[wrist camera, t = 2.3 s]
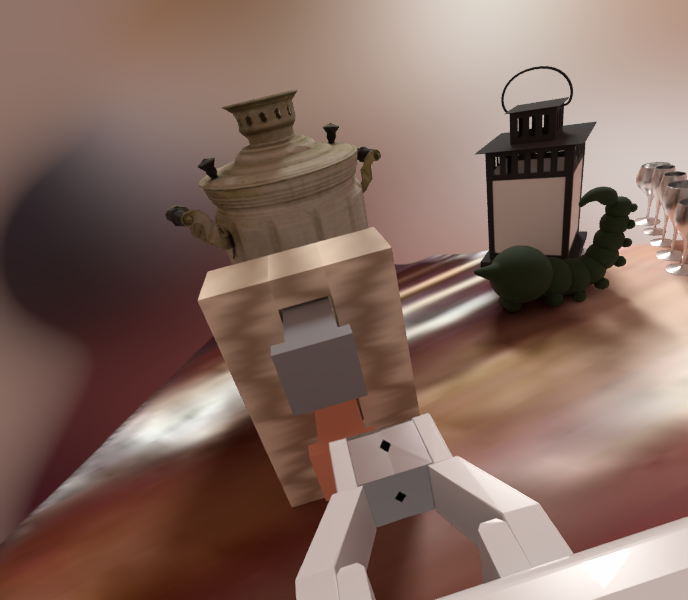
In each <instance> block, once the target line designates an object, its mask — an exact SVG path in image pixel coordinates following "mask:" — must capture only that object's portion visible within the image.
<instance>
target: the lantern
mask: <svg viewBox="0 0 688 600" xmlns="http://www.w3.org/2000/svg"><path fill="white" fill-rule="evenodd" d="M541 68H543V69H552V70H555V71H557V72H559V73H561V74H562V75H563V76H564V77H565V78H566V79H567V81H568V83H569V85H570V90H571V95H570V99H569V101H568V102H567V103H566V104H564V102H565V101H566V100H567V99H568V98H569V97H567V98H561V99H555V100H550V101H542V102H536V103H530V104H524V105H518V106H516V107H514V108H513V109H511V110H510V111H507V110H506V109H505V106H504V102H503V99H504V93H505V90H506V88H507V86H508V85H509V83H510V82H511V81H512V80H513V79H514V78H515V77H517V76H518V75H520V74H522V73H524V72H526V71H530V70H534V69H541ZM572 96H573V88H572V84H571V81H570V79H569V78H568V77H567V75H566V74H565V73H563V72H562V71H561V70H558V69H556V68H553V67H548V66H545V67H544V66H540V67H533V68H530V69H526V70H524V71H522V72H520V73H518V74H517V75H515V76H514V77H513V78H512V79H511V80H510V81H509V82H508V83H507V85H506V86H505V88H504V90H503V93H502V107H503V109H504V111H505V112H506V114H510V133H502V134H500V135H499V136H497V137H496V138H495V139H494V140H492V141H491V142H490V143H488V144H487V145H486V146H485V147H483V148H482V149H481V150H480V151H478V152H477V153H476V154H486V155H485V156H486V178H487V179H486V181H487V205H488V228H489V229H488V230H489V251H488V252H487V254H486V255H485V257H484V258H483V259H482V261H481V267H486V266H489V265H491V264H492V262H493V260H494V259H495V257H496V256H497V255H498V254H500V253H501V252H502V251H504V250H505V249H507V248H509V247H513V246H518V245H523V246H530V247H533V248H536V249H538V250H540V251H541V252H542V253H543V254H545V255H546V256H547V257H556V258H559V259H561V260H564V259H569V258H572V259H576V258H578V257H580V255H581V252H582V249H583V246H584V243H585V240H586V237H587V232H579V219H580V207H579V202H580V200H581V193H582V192H581V191H582V179H583V166H584V154H585V141H586V140H587V138H588V136H589V134H590V133H591V131H592V129H593V127H594V126H595V124H596V122H590V123H582V124H574V125H566V126H563V113H564V106H565V105H568V104H569V103H570V102H571V99H572ZM542 115H544V127H542ZM531 116H532V129H529V117H531ZM518 118H519V131H518V120H517V119H518ZM558 151H559V152H558ZM547 152H548V153H547ZM535 153H537V154H535ZM495 157H497V166H496V163H495ZM498 157H499V158H500V164H499V162H498Z"/></svg>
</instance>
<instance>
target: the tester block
mask: <svg viewBox="0 0 688 600" xmlns="http://www.w3.org/2000/svg"><path fill="white" fill-rule="evenodd" d="M326 296H330V299H331V303H332V306H333V309H332V311H333V314H334V317H335V321H336V324H337V327H341V326H344V325H348V324H349V325H350V328H351V330H352V333H353V337H354V341H355V345H356V349H357V353H358V357H359V361H360V365H361V369H362V373H363V377H364V382H365V386H366V390H367V394H368V395H367V396H364V397H360V398H357V399H356V401H357V404H358V408H359V411H360V414H361V417H362V421H363V424H364V427H365V428H368V427H371V426H375V429H379V428H382V427H385V426H388V425H391V424H394V423H397V422H401V421H404V420H407V419H410V418H411V419H412V418H414V417H417V416H420V414H419V408H418V402H417V396H416V390H415V384H414V378H413V372H412V366H411V360H410V354H409V348H408V342H407V336H406V330H405V325H404V319H403V313H402V307H401V301H400V295H399V289H398V283H397V277H396V271H395V265H394V259H393V253H392V248H391V246H390V245H389V244H388V243H387V242H386V241H385V239H384V238H383V237H382V236H381V235H380V234H379V233H378V231H377V230H376V229H375V228H374V227H372V228H368V229H364V230H361V231H357V232H353V233H350V234H346V235H342V236H338V237H335V238H331V239H327V240H324V241H320V242H316V243H313V244H309V245H305V246H301V247H298V248H294V249H290V250H287V251H283V252H279V253H275V254H272V255H268V256H264V257H261V258H257V259H253V260H249V261H246V262H242V263H238V264H235V265H231V266H227V267H223V268H220V269H216V270H212V271H209V272H208V273H207V276H206V278H205V281H204V284H203V287H202V290H201V292H200V295H199V298H198V303H199V305H200V307H201V309H202V311H203V313H204V316H205V318H206V320H207V322H208V324H209V327H210V329H211V331H212V333H213V335H214V338H215V340H216V342H217V344H218V346H219V349H220V351H221V353H222V355H223V357H224V360H225V362H226V364H227V366H228V368H229V371H230V373H231V375H232V377H233V379H234V382H235V384H236V386H237V388H238V390H239V393H240V395H241V397H242V399H243V401H244V404H245V406H246V408H247V410H248V412H249V415H250V417H251V419H252V421H253V423H254V426H255V428H256V430H257V432H258V434H259V437H260V439H261V441H262V443H263V445H264V448H265V450H266V452H267V454H268V456H269V459H270V461H271V463H272V465H273V467H274V470H275V472H276V474H277V476H278V478H279V481H280V483H281V485H282V487H283V489H284V492H285V494H286V496H287V498H288V500H289V503H290V505H291V507H292V508H293V507H296V506H299V505H303V504H306V503H309V502H312V501H316V500H319V499H322V498H325V497H324V494H323V492H322V489H321V486H320V484H319V481H318V478H317V476H316V473H315V471H314V468H313V465H312V463H311V460H310V457H309V450H308V445H311V444H314V443H318V442H319V440H318V433H317V427H316V420H315V414H314V411H313V412H309V413H306V414H302V415H299V416H296V417H294V416H293V413H292V410H291V408H290V405H289V402H288V400H287V397H286V395H285V392H284V389H283V387H282V384H281V381H280V379H279V376H278V374H277V371H276V368H275V366H274V363H273V360H272V358H271V346H273V345H277V344H281V343H284V342H285V341H284V327H283V313H282V309H283V308H286V307H290V306H294V305H297V304H301V303H304V302H308V301H312V300H315V299H319V298H322V297H326Z"/></svg>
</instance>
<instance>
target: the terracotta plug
mask: <svg viewBox="0 0 688 600" xmlns="http://www.w3.org/2000/svg"><path fill="white" fill-rule="evenodd" d="M314 414H315V420H316V427H317V433H318V440H319V442H318V443H314V444H311V445H308V450H309V457H310V460H311V463H312V465H313V468H314V471H315V473H316V476H317V478H318V481H319V484H320V486H321V489H322V492H323V494H324V497H325V499H326V501H329V500H330V498H331V496H332V495H333V494H336V493H337V490H336V484H335V479H334V473H333V467H332V462H331V456H330V451H329V443H330V442H334V441H337V440H341V439H344V438H347V437H351V436H354V435H358V434H362V433H365V432H369V431H373V430H376V429H375V426H371V427H368V428H365V427H364V424H363V421H362V417H361V414H360V411H359V408H358V404H357V401H356V399H353V400H350V401H347V402H343V403H340V404H336V405H333V406H330V407H326V408H323V409H319V410H316V411H314Z"/></svg>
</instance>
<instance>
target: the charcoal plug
mask: <svg viewBox="0 0 688 600" xmlns="http://www.w3.org/2000/svg"><path fill="white" fill-rule="evenodd" d="M282 313H283V327H284V341H285V342H284V343H281V344H277V345H273V346H271V358H272V360H273V363H274V366H275V368H276V371H277V374H278V376H279V379H280V381H281V384H282V387H283V389H284V392H285V395H286V397H287V400H288V402H289V405H290V408H291V410H292V413H293V416H294V417H296V416H299V415H302V414H306V413H309V412H313V411H316V410H319V409H323V408H326V407H330V406H333V405H336V404H340V403H343V402H347V401H350V400H353V399H357V398H360V397H364V396H367V395H368V394H367V390H366V386H365V382H364V377H363V373H362V369H361V365H360V361H359V357H358V353H357V349H356V345H355V341H354V337H353V333H352V330H351V328H350V325H349V324H348V325H344V326H341V327H337V324H336V321H335V317H334V314H333V311H332V308H331V305H330V302H329V298H328V296H326V297H322V298H319V299H315V300H312V301H308V302H304V303H301V304H297V305H294V306H290V307H286V308H283V309H282Z"/></svg>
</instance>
